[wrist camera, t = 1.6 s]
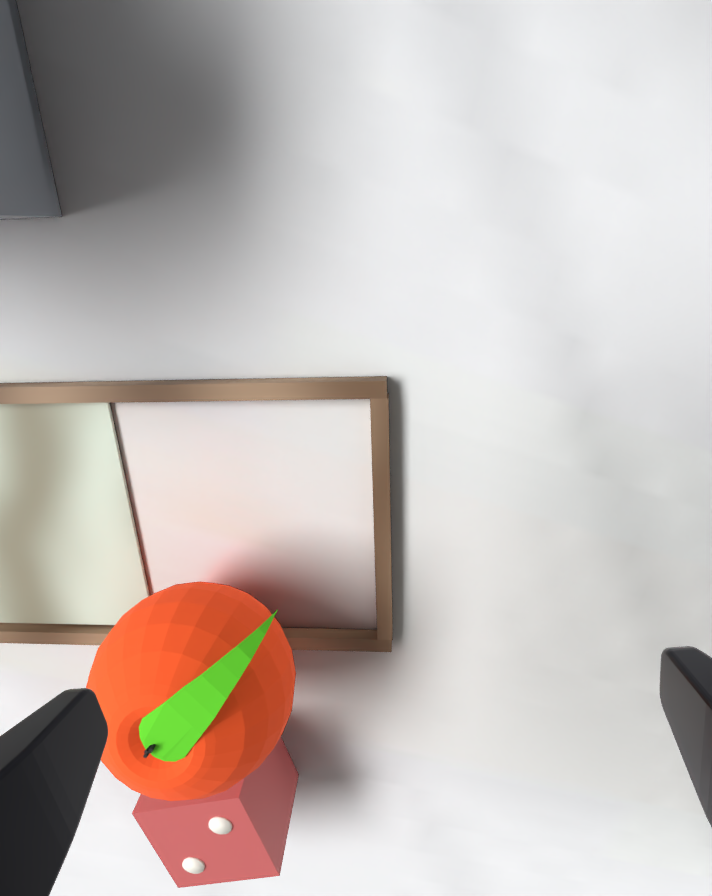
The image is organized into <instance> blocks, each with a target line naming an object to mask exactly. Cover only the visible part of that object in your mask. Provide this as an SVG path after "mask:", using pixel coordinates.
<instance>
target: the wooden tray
mask: <svg viewBox="0 0 712 896" xmlns="http://www.w3.org/2000/svg"><path fill="white" fill-rule="evenodd" d="M315 399H370V408H371V442H372V476H373V509H374V543H375V577H376V610H377V630H370V629H320V628H282V630H283V632H284V634H285V636H286V638H287V640H288V643H289V645H290V647H291V649H292V650H327V651H369V652H391V648H392V638H393V620H392V561H391V503H390V445H389V393H387V376H377V377H322V378H266V379H210V380H155V381H99V382H43V383H0V643H29V644H71V645H101V644H102V642H103V641H104V640H105V638H106V637H107V635H108V634H109V632H110V631H111V630H112V628H113V627H114V626H115V624H116V623H117V622H118V621H119V619H120V618H121V617H122V616H123V615H124V614H125V613H126V612H127V611H129V610H130V609H131V608H132V607H134V606H135V605H136V604H138V603H139V602H140V601H141V600H143V599H145V598H147V597H149V596H150V595H149V590H148V585H147V580H146V575H145V571H144V566H143V561H142V556H141V551H140V546H139V542H138V537H137V532H136V527H135V522H134V518H133V513H132V508H131V503H130V498H129V493H128V489H127V484H126V479H125V474H124V469H123V465H122V460H121V455H120V450H119V445H118V440H117V436H116V431H115V426H114V421H113V416H112V412H111V407H110V403H111V402H179V401H247V400H315Z"/></svg>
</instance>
